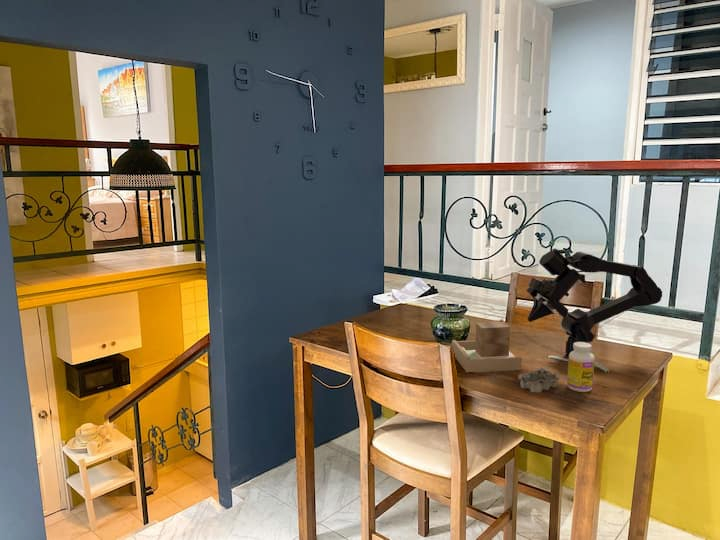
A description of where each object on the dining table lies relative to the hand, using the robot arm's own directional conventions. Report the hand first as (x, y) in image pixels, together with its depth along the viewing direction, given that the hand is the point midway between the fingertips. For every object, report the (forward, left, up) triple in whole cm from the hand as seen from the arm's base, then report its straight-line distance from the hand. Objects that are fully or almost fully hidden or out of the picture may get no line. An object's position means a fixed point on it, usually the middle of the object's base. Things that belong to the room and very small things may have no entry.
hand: (528, 320), depth 175 cm
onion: (+15, -12, -13) cm, 23 cm away
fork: (-14, -5, -13) cm, 20 cm away
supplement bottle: (-21, +14, -13) cm, 28 cm away
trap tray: (+10, +10, -13) cm, 19 cm away
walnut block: (+8, +8, -10) cm, 16 cm away
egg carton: (-11, +19, -13) cm, 26 cm away
